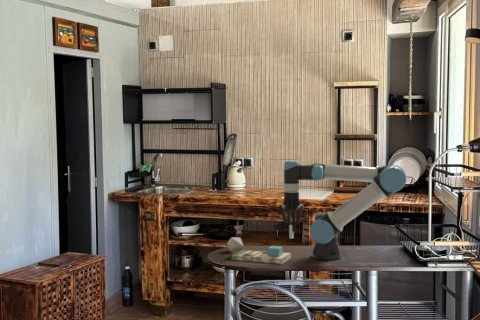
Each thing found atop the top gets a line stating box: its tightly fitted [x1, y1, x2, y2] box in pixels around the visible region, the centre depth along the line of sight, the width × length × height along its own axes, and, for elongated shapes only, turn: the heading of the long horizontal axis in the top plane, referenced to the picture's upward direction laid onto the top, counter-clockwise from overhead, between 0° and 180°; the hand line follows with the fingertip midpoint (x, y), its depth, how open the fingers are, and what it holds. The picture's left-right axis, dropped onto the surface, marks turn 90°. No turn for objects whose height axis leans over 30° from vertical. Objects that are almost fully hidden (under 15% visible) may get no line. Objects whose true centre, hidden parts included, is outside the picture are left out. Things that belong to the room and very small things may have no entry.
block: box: [267, 245, 284, 257], centre depth 276 cm, size 6×6×4 cm
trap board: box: [229, 244, 292, 265], centre depth 279 cm, size 28×14×5 cm, turn 68°
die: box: [226, 236, 244, 252], centre depth 297 cm, size 8×9×10 cm
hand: (291, 238), depth 272 cm, fingers closed
